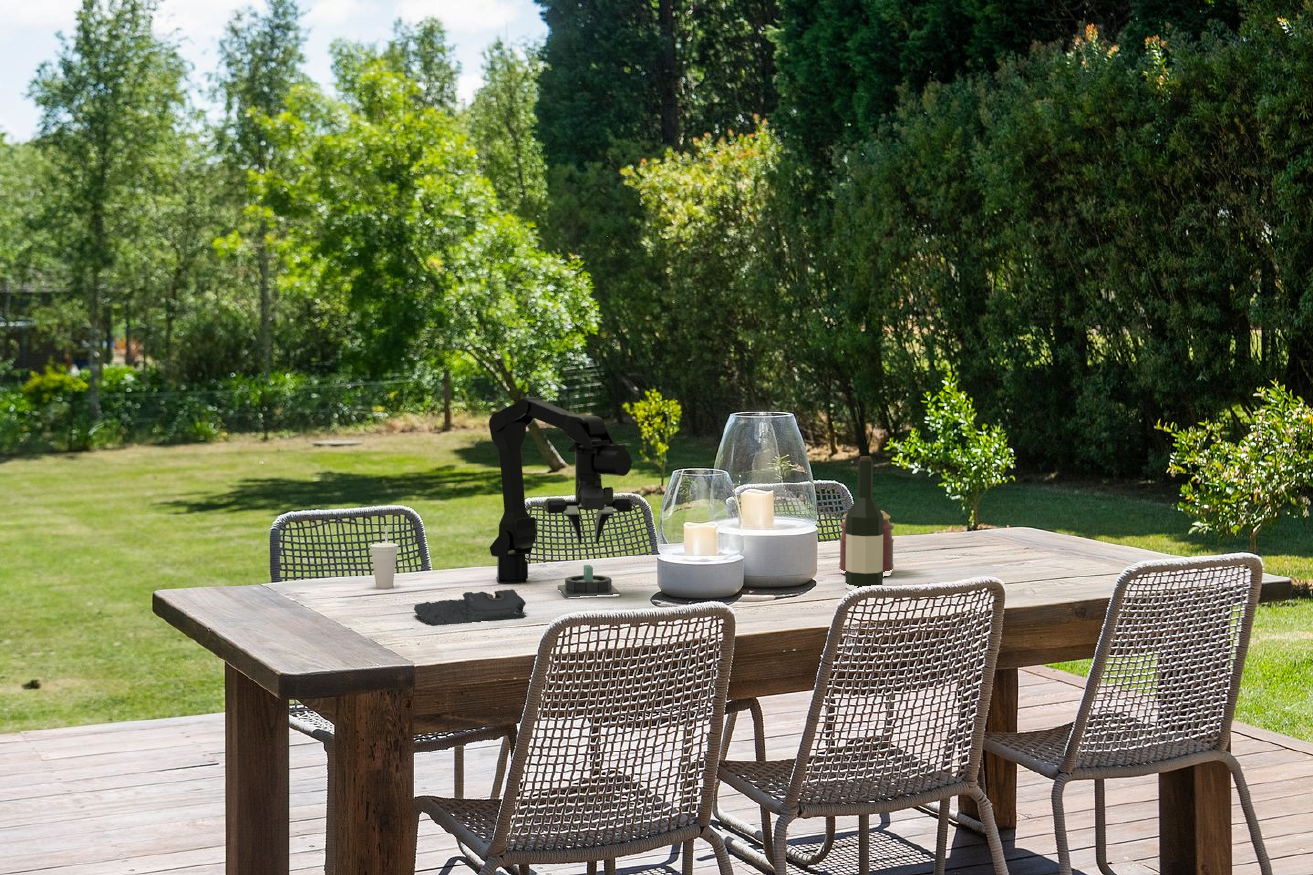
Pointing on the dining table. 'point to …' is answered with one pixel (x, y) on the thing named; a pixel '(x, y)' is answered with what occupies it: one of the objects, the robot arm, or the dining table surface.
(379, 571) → the smoothie
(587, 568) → the cap
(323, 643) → the dining table surface
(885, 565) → the canister
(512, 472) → the robot arm
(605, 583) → the square ring flange
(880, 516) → the wine bottle
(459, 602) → the dark slate chunk
